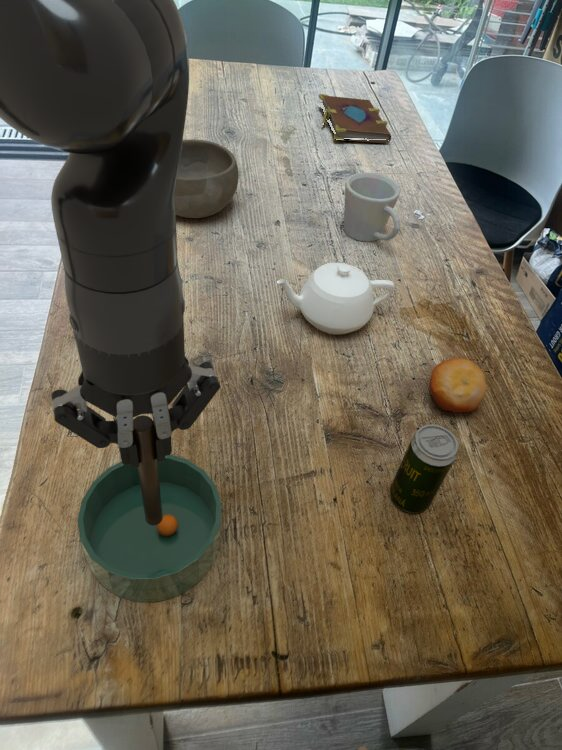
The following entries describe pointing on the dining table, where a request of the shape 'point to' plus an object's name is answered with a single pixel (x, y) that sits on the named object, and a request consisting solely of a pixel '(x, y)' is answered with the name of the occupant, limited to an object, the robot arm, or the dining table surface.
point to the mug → (370, 206)
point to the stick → (148, 469)
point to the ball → (167, 525)
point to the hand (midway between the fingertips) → (146, 457)
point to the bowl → (204, 179)
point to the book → (354, 119)
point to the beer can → (423, 468)
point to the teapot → (338, 297)
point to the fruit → (457, 385)
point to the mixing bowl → (150, 531)
